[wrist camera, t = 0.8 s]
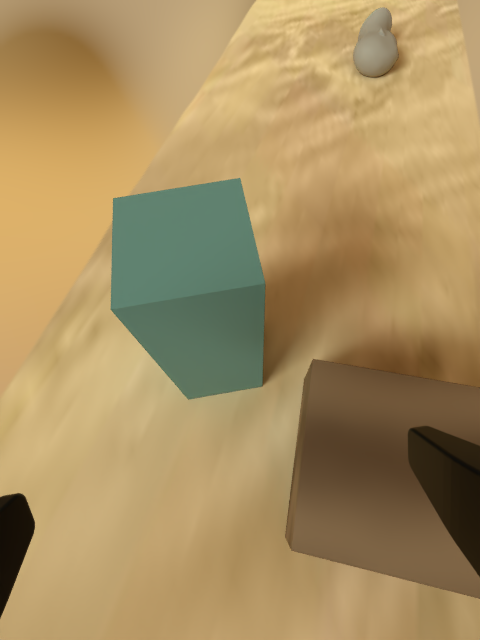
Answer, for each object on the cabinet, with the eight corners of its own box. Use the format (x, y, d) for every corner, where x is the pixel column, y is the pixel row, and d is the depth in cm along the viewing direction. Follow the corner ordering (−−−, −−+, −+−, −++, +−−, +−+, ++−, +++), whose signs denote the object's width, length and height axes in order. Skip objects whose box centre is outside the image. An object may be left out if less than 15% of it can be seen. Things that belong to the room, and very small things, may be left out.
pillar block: (262, 386, 22) (265, 283, 10) (188, 399, 21) (110, 309, 10) (249, 320, 24) (240, 178, 13) (182, 332, 24) (113, 198, 13)
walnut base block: (461, 580, 16) (517, 608, 13) (285, 536, 18) (291, 550, 14) (447, 405, 20) (487, 388, 17) (304, 379, 22) (312, 358, 18)
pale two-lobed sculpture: (381, 96, 37) (342, 76, 37) (389, 57, 40) (353, 39, 40) (408, 55, 33) (364, 33, 33) (414, 17, 37) (374, -5, 36)
